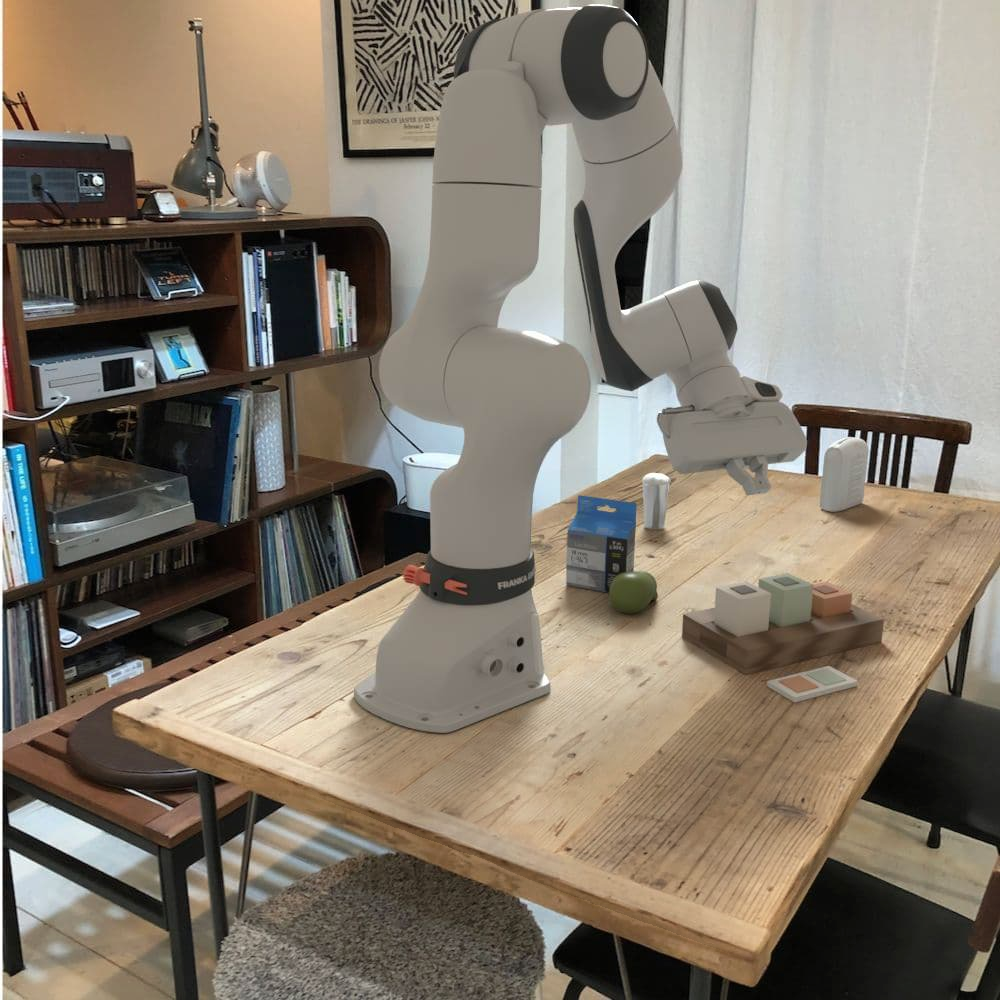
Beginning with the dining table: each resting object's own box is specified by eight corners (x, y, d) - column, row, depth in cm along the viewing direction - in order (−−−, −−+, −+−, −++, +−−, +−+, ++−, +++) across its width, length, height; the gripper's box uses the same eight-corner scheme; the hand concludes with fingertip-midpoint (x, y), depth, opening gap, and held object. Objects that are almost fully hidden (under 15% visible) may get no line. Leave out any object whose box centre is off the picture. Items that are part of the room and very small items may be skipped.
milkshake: (664, 534, 166) (667, 474, 164) (635, 528, 169) (637, 469, 167) (677, 527, 170) (680, 468, 167) (648, 521, 173) (651, 464, 170)
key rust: (821, 634, 126) (824, 597, 124) (795, 621, 130) (798, 586, 128) (848, 628, 128) (852, 592, 126) (822, 615, 132) (826, 580, 130)
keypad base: (745, 674, 116) (747, 650, 116) (681, 636, 127) (683, 613, 126) (881, 641, 125) (884, 618, 125) (812, 608, 136) (814, 587, 135)
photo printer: (844, 498, 187) (850, 431, 184) (866, 503, 184) (873, 435, 181) (815, 509, 180) (821, 440, 177) (838, 514, 177) (844, 444, 174)
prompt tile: (794, 702, 110) (794, 696, 110) (766, 686, 114) (767, 680, 113) (856, 685, 114) (857, 679, 114) (828, 670, 118) (828, 664, 117)
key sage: (781, 627, 122) (784, 589, 121) (756, 614, 126) (759, 577, 125) (810, 621, 124) (813, 583, 123) (784, 608, 128) (787, 572, 127)
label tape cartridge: (564, 586, 143) (566, 501, 140) (574, 577, 147) (576, 494, 143) (625, 596, 140) (628, 509, 136) (634, 587, 143) (637, 502, 140)
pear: (604, 572, 132) (628, 562, 141) (601, 613, 133) (625, 600, 142) (645, 579, 130) (668, 568, 139) (642, 620, 131) (664, 606, 140)
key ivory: (737, 637, 120) (740, 598, 118) (713, 623, 123) (716, 586, 122) (768, 630, 122) (771, 592, 120) (743, 617, 125) (746, 580, 124)
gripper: (663, 394, 130) (705, 487, 124) (788, 385, 139) (833, 471, 133) (641, 423, 135) (681, 513, 129) (763, 412, 144) (806, 496, 138)
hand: (759, 492), depth 131 cm, fingers closed
